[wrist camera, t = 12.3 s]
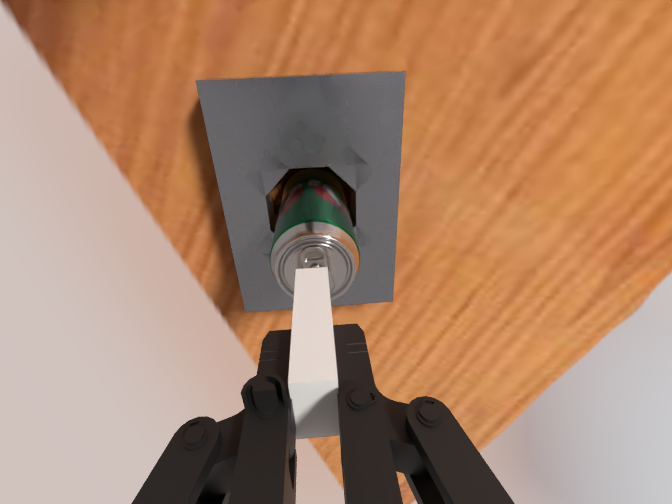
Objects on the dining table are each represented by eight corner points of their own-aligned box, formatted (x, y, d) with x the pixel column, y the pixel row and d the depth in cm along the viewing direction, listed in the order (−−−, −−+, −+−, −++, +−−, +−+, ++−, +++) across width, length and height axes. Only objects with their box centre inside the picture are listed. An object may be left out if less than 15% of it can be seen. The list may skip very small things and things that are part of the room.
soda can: (289, 227, 29) (277, 315, 19) (277, 170, 27) (257, 235, 16) (346, 219, 29) (366, 303, 19) (339, 162, 27) (359, 221, 16)
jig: (210, 78, 24) (195, 80, 20) (393, 70, 24) (405, 71, 21) (251, 289, 32) (245, 312, 29) (385, 279, 33) (392, 301, 30)
